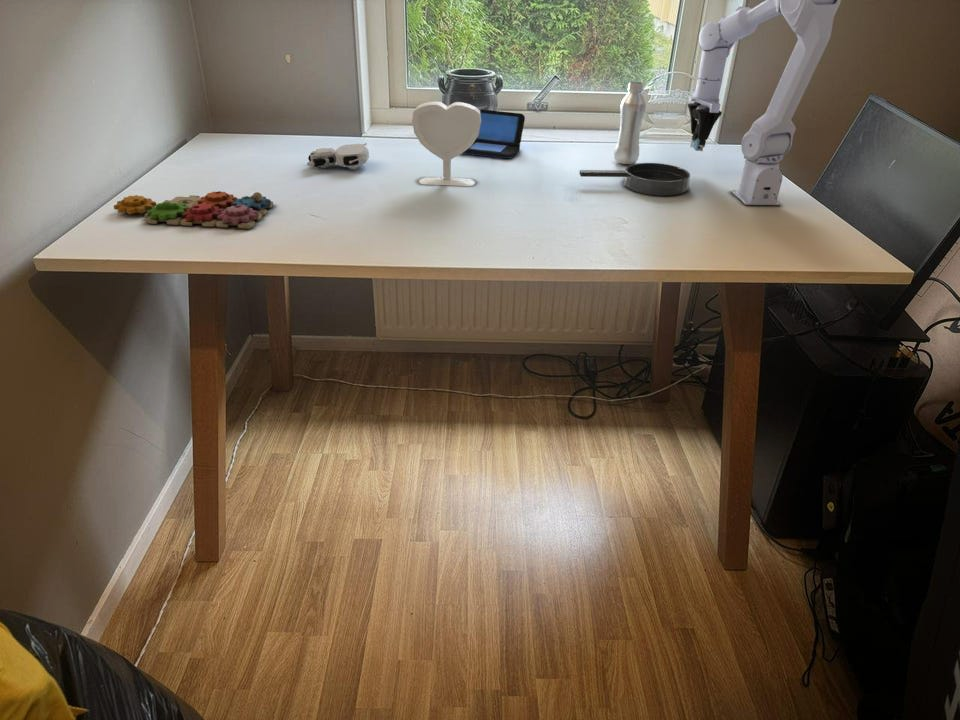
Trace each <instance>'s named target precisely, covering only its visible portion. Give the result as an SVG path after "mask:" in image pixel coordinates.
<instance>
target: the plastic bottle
mask: <svg viewBox="0 0 960 720" xmlns="http://www.w3.org/2000/svg"><path fill="white" fill-rule="evenodd" d="M627 86H628V87H627V91H628V92H627V93H626V95H625V96H624V97H623V99H622V100H621V101H620V106H619V107H620V110H619V111H620V112H619V113H620V114H619V115H620V117H619V118H620V121H619V131H618V136H617V141H616V146H615V147H614V148H615V149H614V152H613V156H614V157H613V158H614V161H615V162H616V163H619V164H622V165H633V164H636V163H637V161H638V160H639V156H640V136H641V128H642V123H643V119H644V116H645V111H646V109H647V104H646V100H645V97H644V95H643V94H642V92H643V91H644V82H641V81H629V82H628V85H627Z"/></svg>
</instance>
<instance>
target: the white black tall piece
mask: <svg viewBox="0 0 960 720" xmlns="http://www.w3.org/2000/svg"><path fill="white" fill-rule="evenodd" d="M697 109H705V107H704V106H703V105H699V106H697ZM697 109H693V111H692V112H693V118H695V120H697V121H698V114H697ZM698 127H699V121H698V123H697V128H695V132H693V134H692V135H691V141H690V145H689V146H690V147H689V148H691V149H692V148H693V150H694V151H696V152H704V148H705V146H706V144H707V143H706V142H707V140H699V139H698Z"/></svg>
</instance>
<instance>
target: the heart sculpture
mask: <svg viewBox="0 0 960 720" xmlns="http://www.w3.org/2000/svg"><path fill="white" fill-rule="evenodd" d="M479 109H480V108H478V107H476V106H474V105H473V104H470V103H466V102H462V101H455V102H453V103H451V104H449V105H446V104H445V103H443V102H441V101H438V100H435V101H434V100H433V101H428V102H424V103H421V104H419V105H417V106H416V107H415V108H414V110H413V112H412V120H411V122H412V123H411V124H412V128H413V133H414V136H415V137H416V138H417V141H419V143H420V145H422V146H423V147H424V149H426V150H427V151H428V152H429V153H431V154H433V155H435V156H436V157H437V158H439V159H440V160H441V161H442V177H423V178H421V179H419V180H418V183H419V184H421V185H427V186H429V185H430V186H456V187H472V186H474V185H475V184H476V182H475V181H474V179H470V178H459V177H452V161H451V160H453V159H454V158H457V157H458V156H461V155H462V154H464V153H463V152H464V151H466V150H467V149H468V148H469V147H471V146H472V144H473V143H474V141H475V140H476V138H477V137H478V135H479V130H480V124H481V115H480V110H479Z"/></svg>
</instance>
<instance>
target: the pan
mask: <svg viewBox="0 0 960 720" xmlns="http://www.w3.org/2000/svg"><path fill="white" fill-rule="evenodd" d="M625 171H626V172H627V177H623V179H624V181H623V184H624V186H625V187H626V188H628V189H629V190H631V191H633V192H636V193H639V194H643V195H648V196H657V197H671V196H677V195H681V194H683V193H685V192H687V191H688V190H689V185H690V179H691V173H690V172H689V171H688V170H687V169H685V168H683V167H680V166H677V165H672V164H667V163H661V162H660V163H659V162H638V163H634V164H629V165H627V167H625Z"/></svg>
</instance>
